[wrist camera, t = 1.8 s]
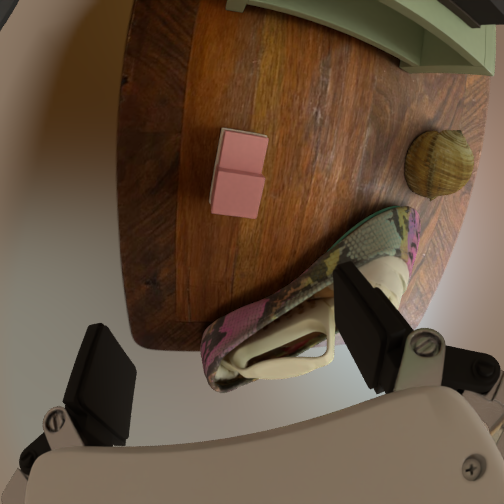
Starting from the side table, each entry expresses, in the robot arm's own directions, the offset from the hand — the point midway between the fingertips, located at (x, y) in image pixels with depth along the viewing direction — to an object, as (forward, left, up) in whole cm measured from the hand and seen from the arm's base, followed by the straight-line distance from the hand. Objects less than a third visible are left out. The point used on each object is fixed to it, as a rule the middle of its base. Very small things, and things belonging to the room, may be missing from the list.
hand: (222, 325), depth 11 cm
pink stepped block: (+2, +3, -18) cm, 18 cm away
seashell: (+24, +9, -18) cm, 31 cm away
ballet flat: (+13, -9, -18) cm, 24 cm away
